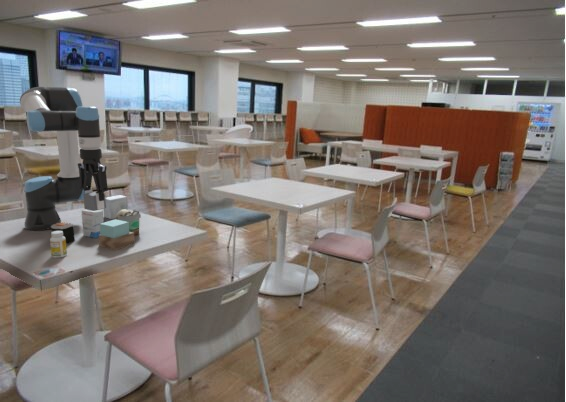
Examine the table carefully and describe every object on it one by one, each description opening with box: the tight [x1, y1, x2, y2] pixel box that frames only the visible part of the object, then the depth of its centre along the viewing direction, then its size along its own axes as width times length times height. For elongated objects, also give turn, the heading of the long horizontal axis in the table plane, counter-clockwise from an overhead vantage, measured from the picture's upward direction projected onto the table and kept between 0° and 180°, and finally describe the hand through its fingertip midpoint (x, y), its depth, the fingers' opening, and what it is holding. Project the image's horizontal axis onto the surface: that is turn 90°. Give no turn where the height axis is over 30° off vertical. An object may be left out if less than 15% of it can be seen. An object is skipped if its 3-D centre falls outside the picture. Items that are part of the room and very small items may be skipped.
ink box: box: [81, 209, 104, 239], centre depth 183 cm, size 9×5×12 cm, turn 65°
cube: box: [83, 191, 106, 211], centre depth 159 cm, size 6×6×6 cm
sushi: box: [50, 222, 76, 245], centre depth 174 cm, size 8×8×8 cm
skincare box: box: [103, 194, 129, 220], centre depth 214 cm, size 10×6×10 cm, turn 147°
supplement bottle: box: [49, 231, 68, 259], centre depth 158 cm, size 5×5×10 cm
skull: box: [115, 209, 132, 220], centre depth 201 cm, size 12×10×10 cm
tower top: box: [100, 218, 129, 238], centre depth 171 cm, size 8×8×5 cm
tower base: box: [98, 232, 136, 251], centre depth 173 cm, size 10×10×5 cm
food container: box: [119, 209, 142, 237], centre depth 185 cm, size 12×6×10 cm, turn 168°
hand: (95, 207), depth 160 cm, fingers closed on cube, 5 cm apart
